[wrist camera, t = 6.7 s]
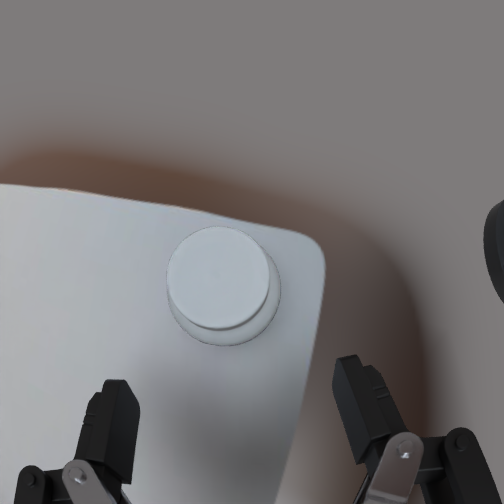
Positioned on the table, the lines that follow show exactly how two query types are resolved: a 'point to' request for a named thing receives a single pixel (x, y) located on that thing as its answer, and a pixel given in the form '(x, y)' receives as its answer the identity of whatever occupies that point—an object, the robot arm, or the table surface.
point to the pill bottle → (222, 286)
